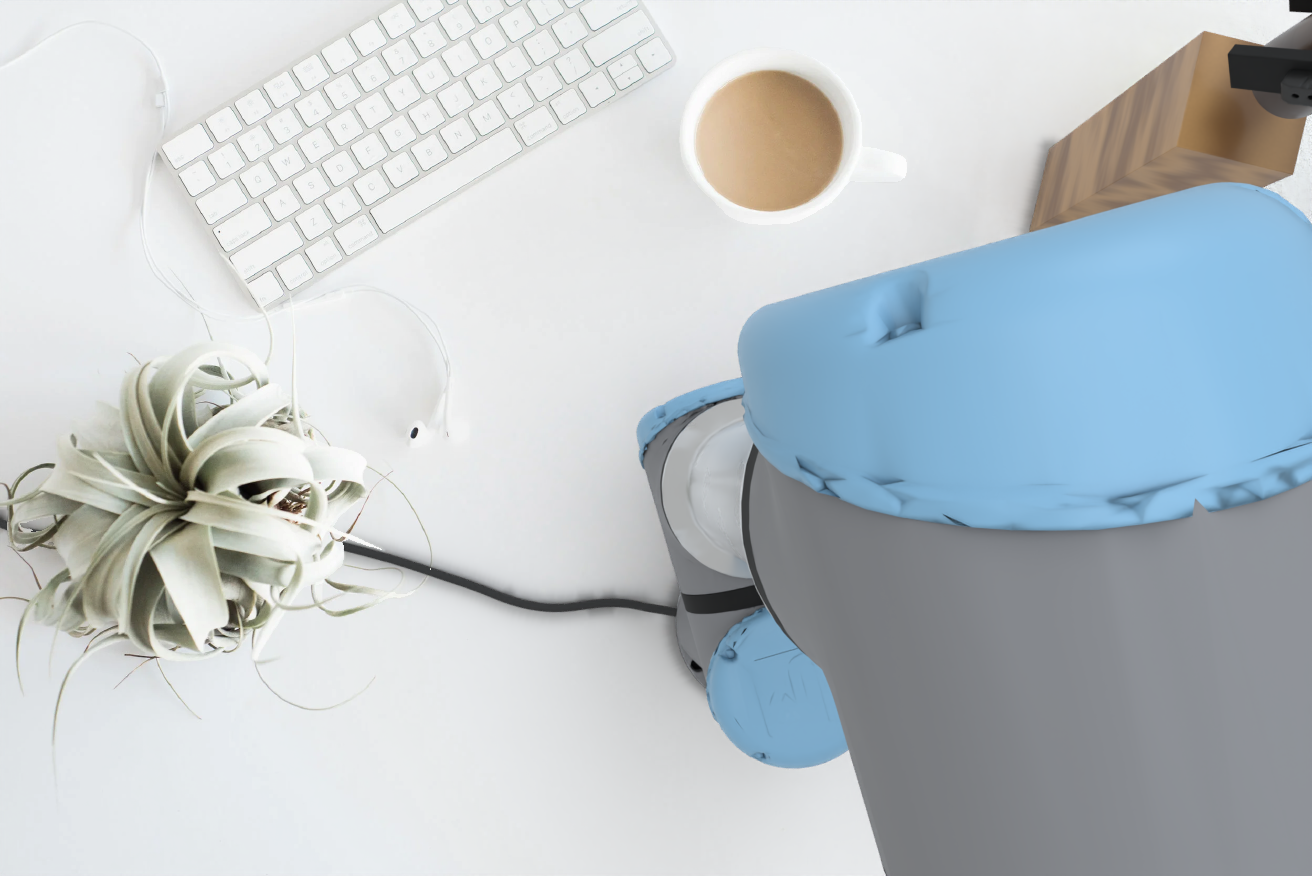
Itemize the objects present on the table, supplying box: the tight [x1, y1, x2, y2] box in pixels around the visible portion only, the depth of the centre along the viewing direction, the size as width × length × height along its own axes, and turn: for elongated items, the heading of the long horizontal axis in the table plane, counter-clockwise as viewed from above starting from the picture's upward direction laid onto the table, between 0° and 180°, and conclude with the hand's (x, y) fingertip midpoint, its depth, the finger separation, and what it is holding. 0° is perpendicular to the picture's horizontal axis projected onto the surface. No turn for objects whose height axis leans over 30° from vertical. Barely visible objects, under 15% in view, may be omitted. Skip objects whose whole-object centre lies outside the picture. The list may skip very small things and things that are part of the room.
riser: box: [1028, 30, 1308, 233], centre depth 66 cm, size 8×8×22 cm
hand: (1263, 27), depth 50 cm, fingers closed on pepper mill, 5 cm apart
